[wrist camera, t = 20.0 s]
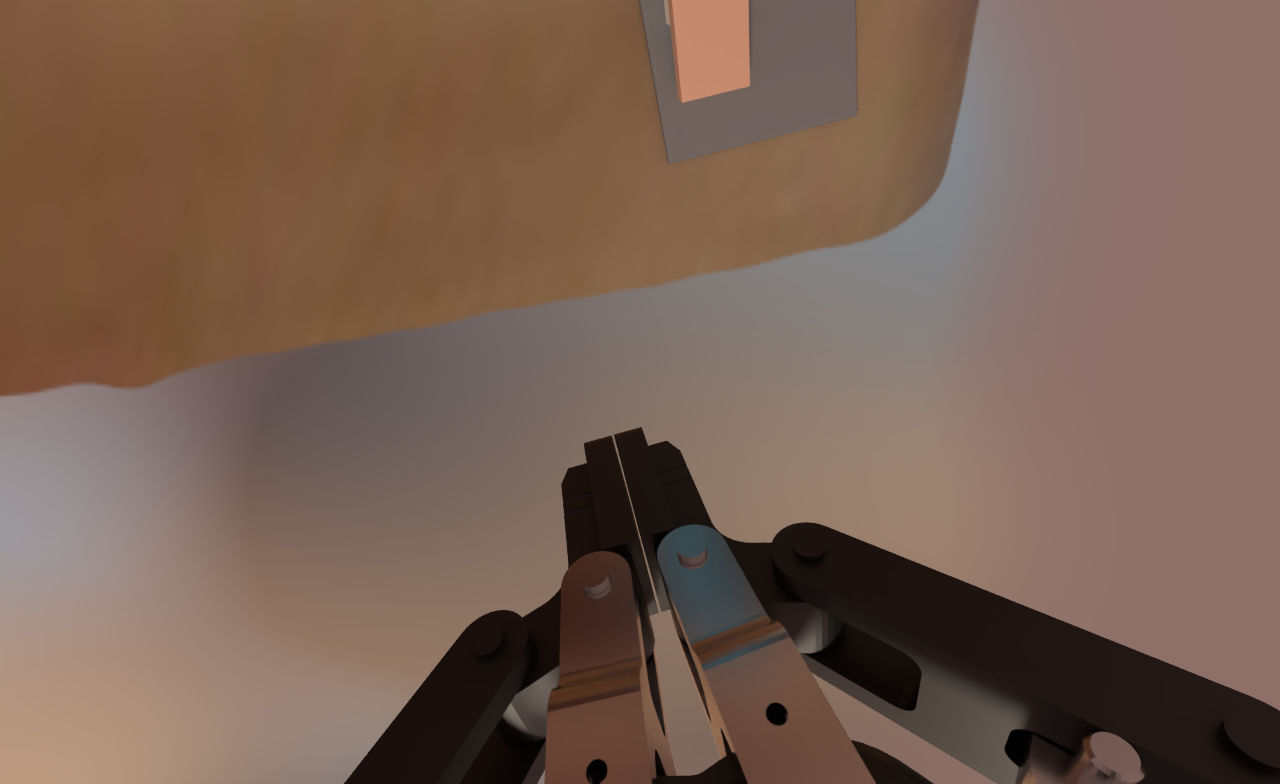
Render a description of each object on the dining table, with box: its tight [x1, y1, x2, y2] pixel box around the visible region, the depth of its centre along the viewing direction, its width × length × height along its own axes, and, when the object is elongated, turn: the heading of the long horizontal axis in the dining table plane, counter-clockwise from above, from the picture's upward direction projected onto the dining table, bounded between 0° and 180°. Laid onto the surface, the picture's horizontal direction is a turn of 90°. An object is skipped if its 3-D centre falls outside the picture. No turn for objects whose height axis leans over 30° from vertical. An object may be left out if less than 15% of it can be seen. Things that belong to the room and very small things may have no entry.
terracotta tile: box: [668, 0, 750, 103], centre depth 33 cm, size 1×5×10 cm
